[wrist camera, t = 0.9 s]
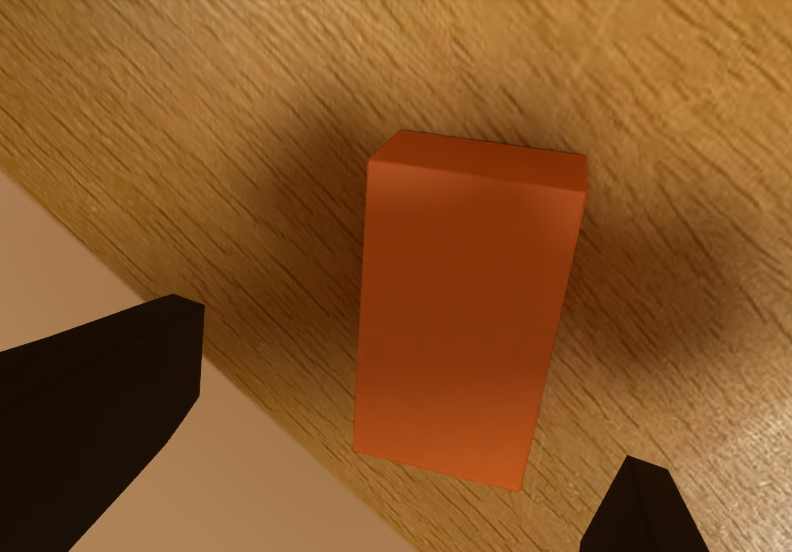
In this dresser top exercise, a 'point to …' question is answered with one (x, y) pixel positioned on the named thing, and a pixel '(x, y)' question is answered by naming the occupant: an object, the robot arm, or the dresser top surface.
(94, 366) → the robot arm
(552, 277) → the block
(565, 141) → the dresser top surface
